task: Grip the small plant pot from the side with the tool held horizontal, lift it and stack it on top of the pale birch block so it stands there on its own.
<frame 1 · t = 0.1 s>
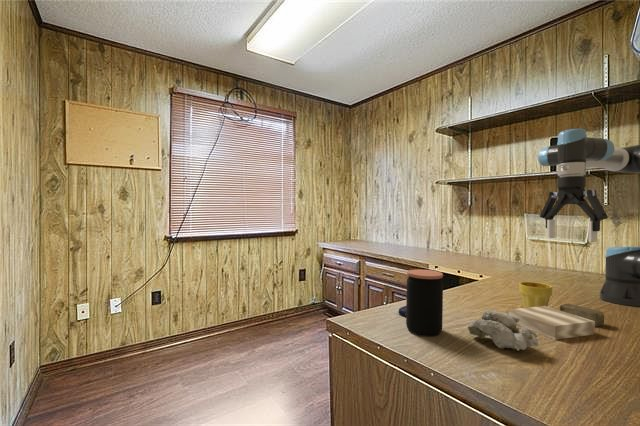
hand: (570, 239, 107), 28 cm above the table, tool pointing down, fingers open, 13 cm apart
plant pot: (535, 310, 121), on the table
race car: (413, 315, 115), on the table
coffee jar: (423, 331, 99), on the table
stone block: (580, 322, 109), on the table
mineral: (502, 346, 89), on the table
birch block: (549, 327, 103), on the table
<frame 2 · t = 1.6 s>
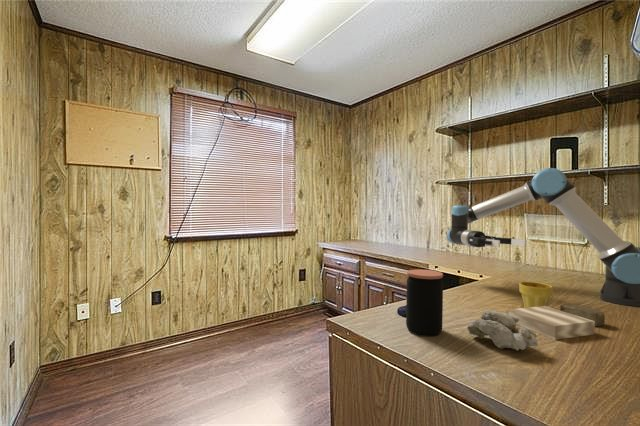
hand: (512, 243, 130), 24 cm above the table, tool horizontal, fingers open, 13 cm apart
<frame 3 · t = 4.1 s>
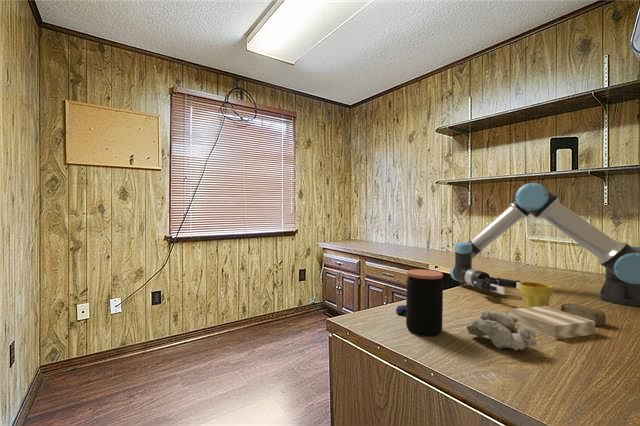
hand: (517, 290, 128), 6 cm above the table, tool horizontal, fingers open, 13 cm apart
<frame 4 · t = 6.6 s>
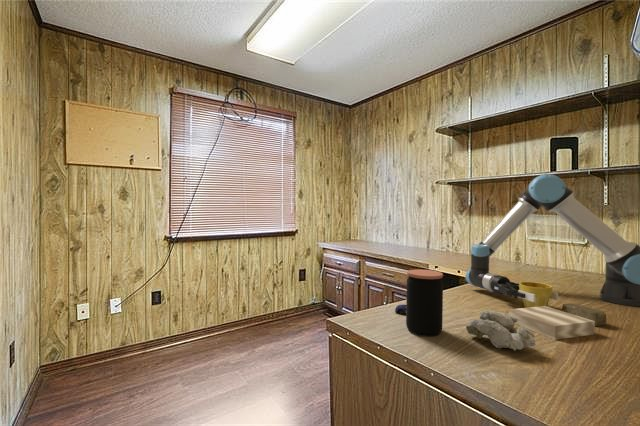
hand: (546, 297, 117), 6 cm above the table, tool horizontal, fingers closed on plant pot, 10 cm apart
plant pot: (534, 310, 121), on the table, touching gripper
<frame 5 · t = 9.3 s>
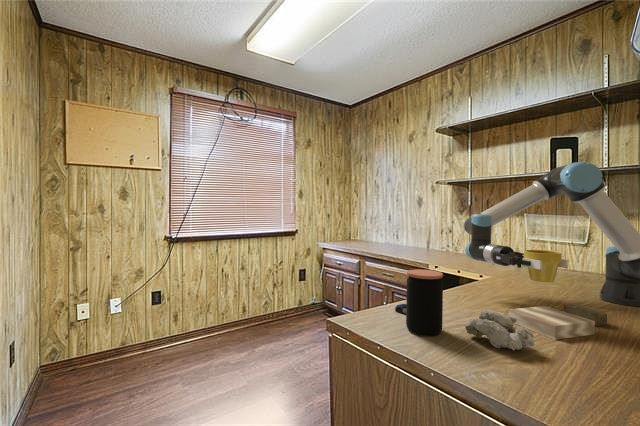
hand: (554, 264, 103), 20 cm above the table, tool horizontal, fingers closed on plant pot, 10 cm apart
plant pot: (541, 281, 107), point 14 cm above the table, touching gripper
when the fingers open (11 cm above the table, at t = 12.3 s): plant pot stays where it is, resting on birch block.
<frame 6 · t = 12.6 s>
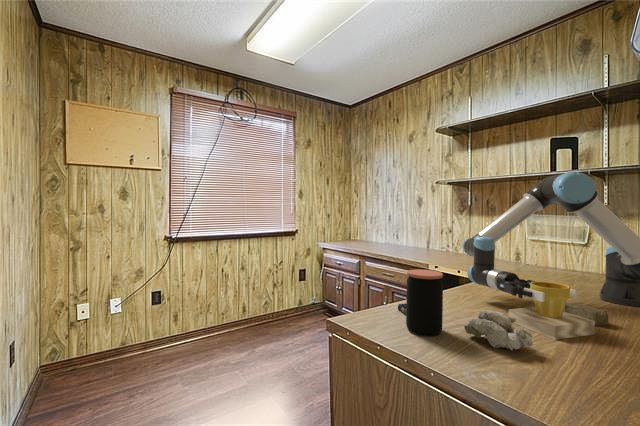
hand: (560, 296, 100), 11 cm above the table, tool horizontal, fingers open, 13 cm apart
plant pot: (549, 315, 103), point 4 cm above the table, touching birch block
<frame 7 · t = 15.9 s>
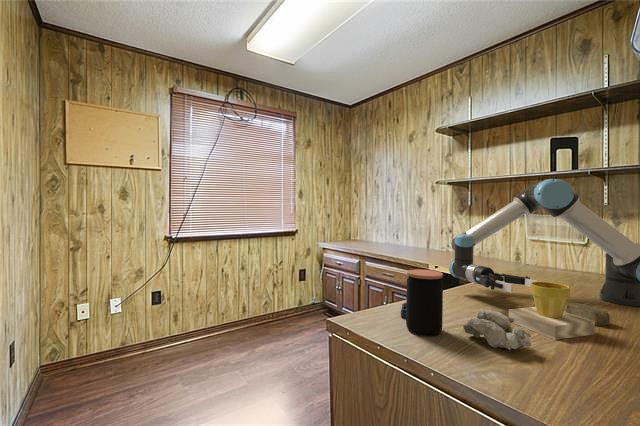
hand: (527, 287, 110), 11 cm above the table, tool horizontal, fingers open, 13 cm apart
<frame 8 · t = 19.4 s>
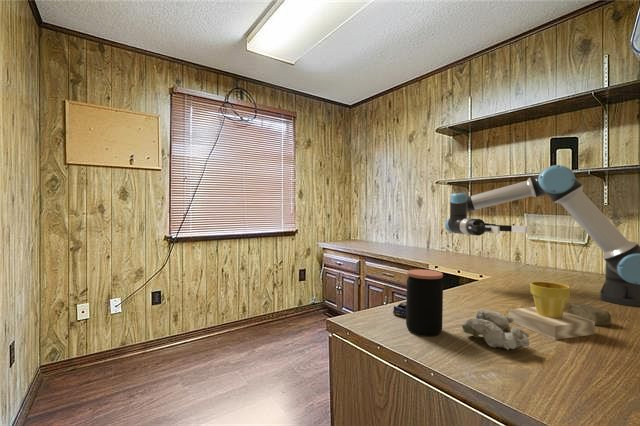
hand: (512, 229, 126), 30 cm above the table, tool horizontal, fingers open, 13 cm apart
at the end: plant pot inside the target area on the birch block (0.1 cm from its centre), point 3.8 cm above the birch block's base; plant pot tilted 0°; the gripper is holding nothing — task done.
